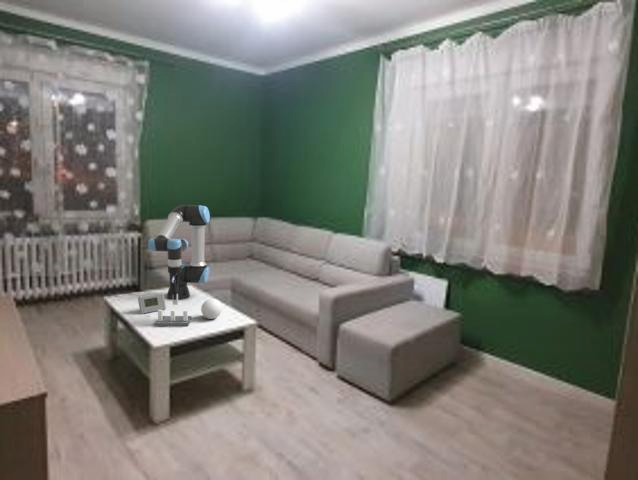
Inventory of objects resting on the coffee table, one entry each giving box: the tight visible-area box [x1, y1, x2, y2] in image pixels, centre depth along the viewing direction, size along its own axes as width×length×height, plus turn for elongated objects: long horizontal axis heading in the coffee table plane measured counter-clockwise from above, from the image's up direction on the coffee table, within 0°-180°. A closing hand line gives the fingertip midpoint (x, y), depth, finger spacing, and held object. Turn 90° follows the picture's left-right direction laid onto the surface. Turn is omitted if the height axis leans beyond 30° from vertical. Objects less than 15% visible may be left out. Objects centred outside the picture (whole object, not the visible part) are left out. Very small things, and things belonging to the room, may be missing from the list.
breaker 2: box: [182, 309, 189, 321], centre depth 241 cm, size 2×2×6 cm
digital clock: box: [137, 292, 167, 315], centre depth 260 cm, size 16×9×11 cm, turn 122°
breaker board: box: [154, 315, 192, 328], centre depth 243 cm, size 12×18×2 cm, turn 98°
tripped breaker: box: [170, 309, 176, 321], centre depth 240 cm, size 2×2×6 cm
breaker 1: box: [157, 310, 164, 321], centre depth 239 cm, size 2×2×6 cm
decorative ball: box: [200, 298, 223, 320], centre depth 252 cm, size 12×12×12 cm
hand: (175, 304), depth 246 cm, fingers closed
